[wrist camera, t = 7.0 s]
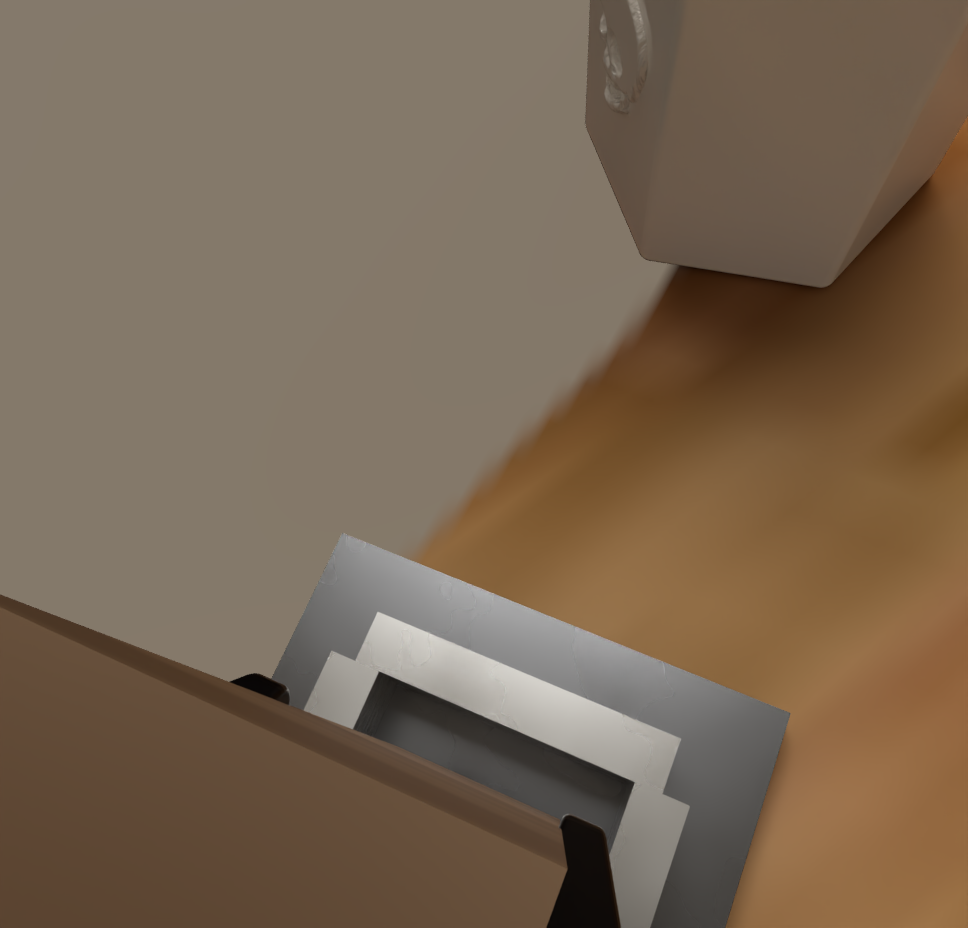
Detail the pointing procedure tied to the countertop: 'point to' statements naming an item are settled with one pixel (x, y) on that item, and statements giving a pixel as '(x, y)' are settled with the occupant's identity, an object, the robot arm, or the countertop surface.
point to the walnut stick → (233, 806)
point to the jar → (771, 124)
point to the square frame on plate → (545, 722)
